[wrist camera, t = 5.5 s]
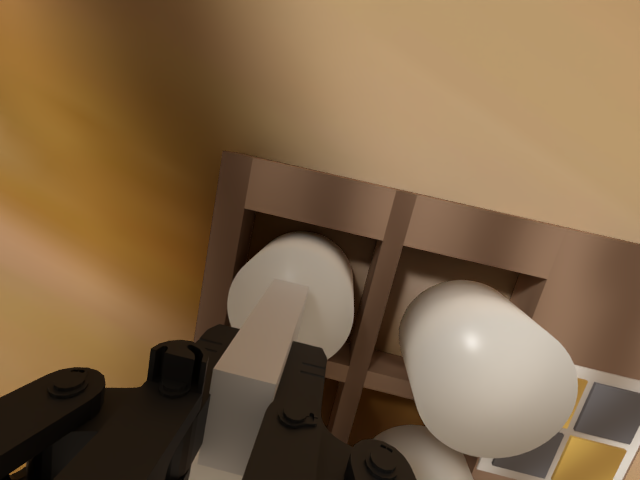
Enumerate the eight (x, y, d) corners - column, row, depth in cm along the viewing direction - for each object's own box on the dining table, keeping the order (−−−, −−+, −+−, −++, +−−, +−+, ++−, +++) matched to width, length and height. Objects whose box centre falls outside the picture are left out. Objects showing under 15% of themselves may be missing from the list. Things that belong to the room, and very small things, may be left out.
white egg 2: (385, 372, 17) (396, 436, 13) (416, 267, 16) (439, 301, 12) (497, 400, 17) (544, 474, 13) (537, 296, 16) (603, 340, 12)
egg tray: (190, 451, 23) (170, 486, 21) (238, 153, 19) (220, 150, 16) (545, 545, 22) (570, 594, 20) (682, 253, 18) (738, 268, 15)
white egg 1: (245, 314, 20) (218, 351, 16) (263, 220, 19) (238, 235, 14) (340, 337, 20) (337, 382, 15) (364, 244, 18) (368, 265, 14)
